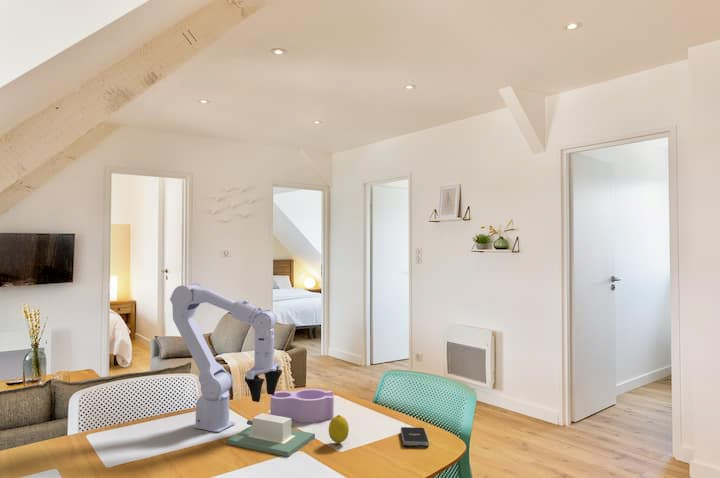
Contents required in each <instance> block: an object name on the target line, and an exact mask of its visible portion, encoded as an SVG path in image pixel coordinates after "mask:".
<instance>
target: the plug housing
mask: <svg viewBox="0 0 720 478" xmlns="http://www.w3.org/2000/svg"><path fill="white" fill-rule="evenodd" d="M246 424H247V425H249V426H252V436H256V437H261V438H266V439H271V440H276V441H281V442H283V441H285V440H286V439H288V438H289V437H291V429H292V420H291V418H287V417H281V416H275V415H270V413H269V414H268V413H262V412H261V413H259V414H257V415H255V416H254V417H252V419H250V420H249V419H248V420H247V421H246Z"/></svg>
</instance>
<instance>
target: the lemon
mask: <svg viewBox="0 0 720 478" xmlns="http://www.w3.org/2000/svg"><path fill="white" fill-rule="evenodd" d="M349 430H350V429H349V422H348V420H347V419H346V418H345V417H344V416H341V414H337V416H333V419H330V421H329V426H328V435H329V439H331V441H333V442H335V443H336V445H340V444H341V443H343V442H344V441H345V440H346V439H347V438H348V436H349Z"/></svg>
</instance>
